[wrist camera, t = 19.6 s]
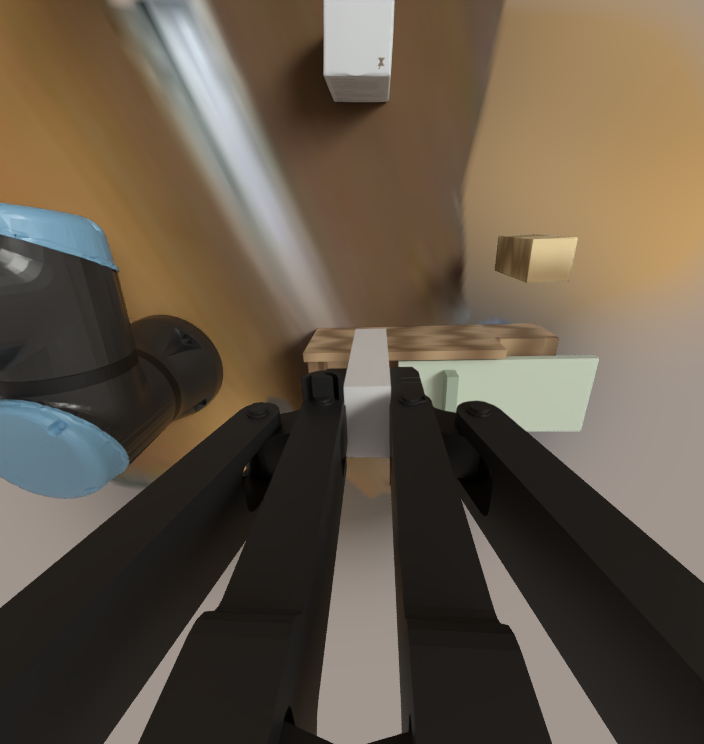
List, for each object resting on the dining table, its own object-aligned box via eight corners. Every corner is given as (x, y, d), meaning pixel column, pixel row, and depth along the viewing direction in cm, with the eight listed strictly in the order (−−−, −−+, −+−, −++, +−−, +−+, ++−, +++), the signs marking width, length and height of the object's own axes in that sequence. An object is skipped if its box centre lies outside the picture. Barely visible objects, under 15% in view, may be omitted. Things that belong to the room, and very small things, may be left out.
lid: (397, 426, 43) (398, 440, 41) (398, 358, 40) (399, 368, 37) (576, 426, 42) (590, 441, 39) (593, 355, 38) (610, 365, 35)
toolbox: (323, 405, 52) (312, 443, 43) (317, 328, 48) (302, 353, 38) (522, 404, 50) (554, 444, 41) (535, 323, 45) (576, 348, 36)
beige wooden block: (498, 235, 42) (533, 239, 32) (533, 234, 41) (577, 237, 32) (494, 270, 43) (526, 282, 34) (527, 269, 43) (569, 281, 34)
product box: (393, 30, 35) (397, -17, 28) (388, 104, 37) (391, 77, 31) (332, 29, 35) (322, -17, 28) (332, 102, 38) (322, 76, 31)
